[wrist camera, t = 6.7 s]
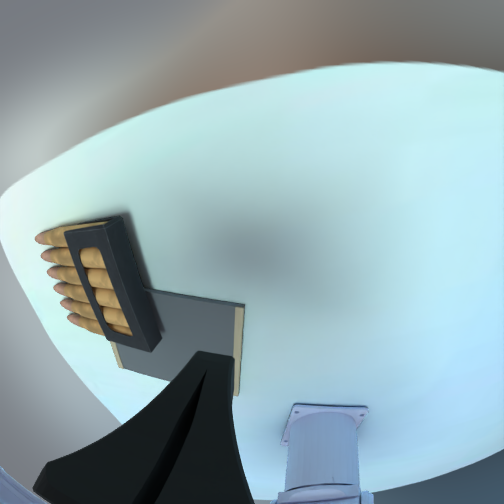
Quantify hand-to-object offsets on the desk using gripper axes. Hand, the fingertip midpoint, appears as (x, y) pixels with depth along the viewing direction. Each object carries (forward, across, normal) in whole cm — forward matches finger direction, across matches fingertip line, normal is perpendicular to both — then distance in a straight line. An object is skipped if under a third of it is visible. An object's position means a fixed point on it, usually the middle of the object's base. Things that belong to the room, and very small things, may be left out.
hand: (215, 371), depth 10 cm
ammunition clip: (+8, +8, +3) cm, 12 cm away
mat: (+10, +7, +10) cm, 16 cm away
